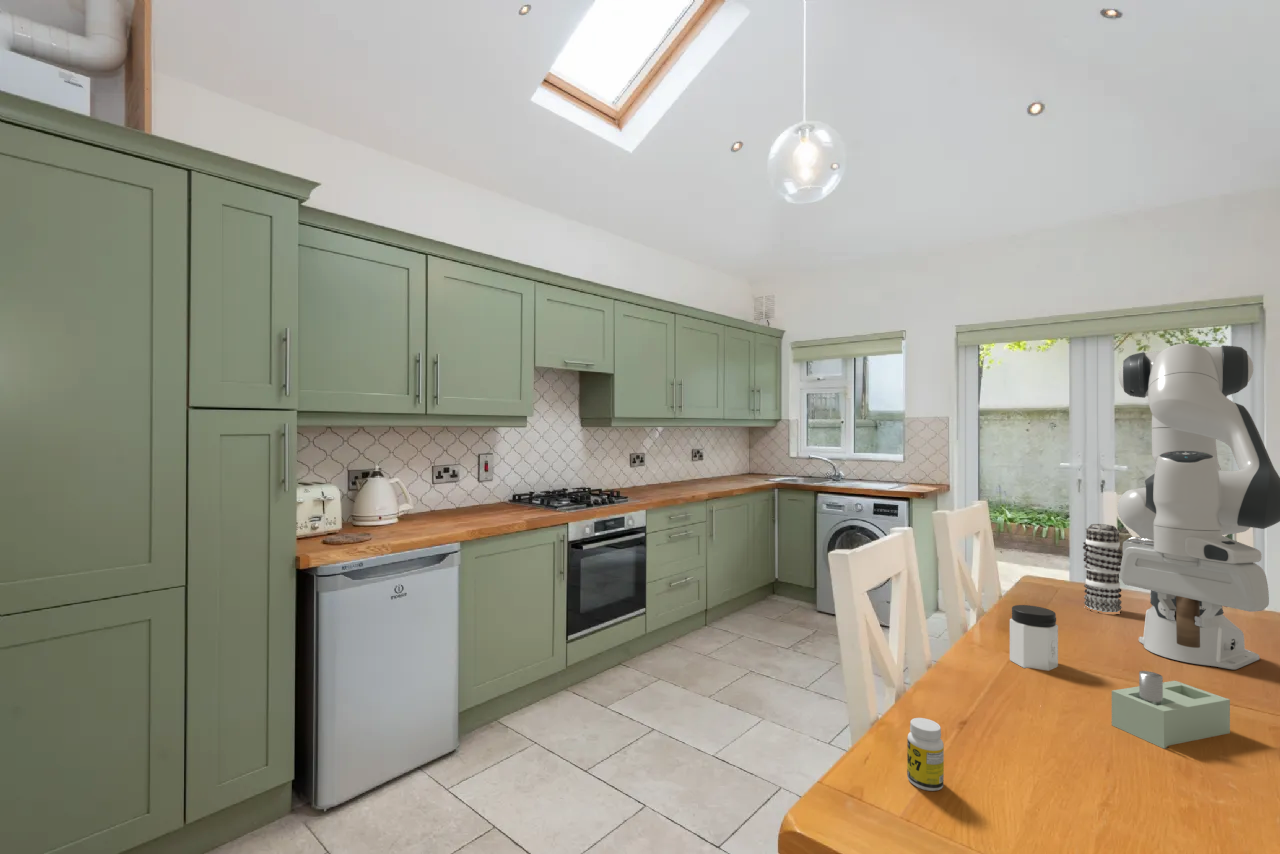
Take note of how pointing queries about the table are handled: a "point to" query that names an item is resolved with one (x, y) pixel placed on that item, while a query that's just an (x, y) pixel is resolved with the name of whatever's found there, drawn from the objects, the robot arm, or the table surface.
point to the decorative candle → (1102, 568)
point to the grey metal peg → (1151, 687)
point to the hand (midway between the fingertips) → (1188, 623)
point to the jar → (1033, 637)
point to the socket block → (1171, 714)
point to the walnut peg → (1187, 622)
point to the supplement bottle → (925, 755)
